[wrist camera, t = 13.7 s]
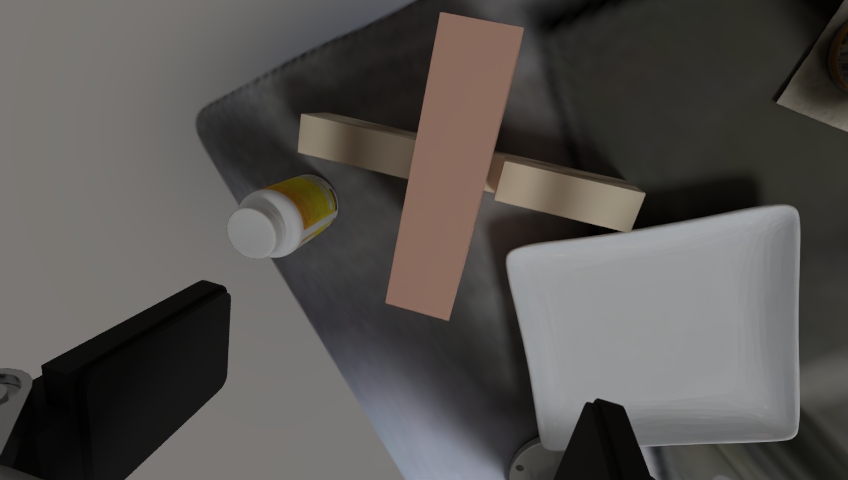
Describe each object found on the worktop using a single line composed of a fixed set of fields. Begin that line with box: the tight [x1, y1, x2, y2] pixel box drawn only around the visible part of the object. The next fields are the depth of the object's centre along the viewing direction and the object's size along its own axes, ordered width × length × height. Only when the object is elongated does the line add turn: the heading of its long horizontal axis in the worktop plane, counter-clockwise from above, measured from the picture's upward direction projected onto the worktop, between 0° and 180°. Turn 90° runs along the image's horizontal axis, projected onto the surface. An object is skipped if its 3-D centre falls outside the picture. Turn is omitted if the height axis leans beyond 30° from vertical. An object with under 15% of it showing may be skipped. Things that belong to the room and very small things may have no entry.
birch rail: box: [298, 112, 646, 233], centre depth 33 cm, size 26×3×5 cm, turn 78°
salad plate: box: [506, 204, 800, 451], centre depth 36 cm, size 21×21×3 cm
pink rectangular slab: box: [385, 12, 524, 321], centre depth 28 cm, size 16×4×14 cm, turn 168°
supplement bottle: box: [227, 174, 338, 259], centre depth 34 cm, size 6×6×10 cm
